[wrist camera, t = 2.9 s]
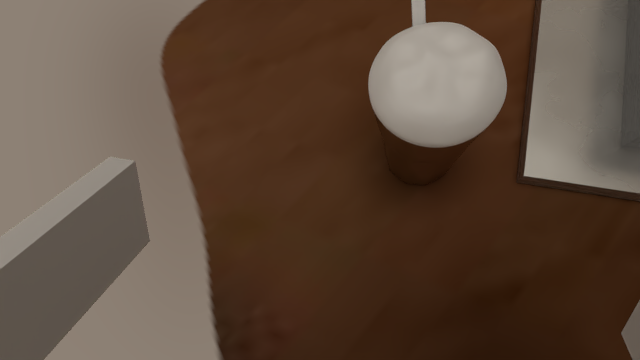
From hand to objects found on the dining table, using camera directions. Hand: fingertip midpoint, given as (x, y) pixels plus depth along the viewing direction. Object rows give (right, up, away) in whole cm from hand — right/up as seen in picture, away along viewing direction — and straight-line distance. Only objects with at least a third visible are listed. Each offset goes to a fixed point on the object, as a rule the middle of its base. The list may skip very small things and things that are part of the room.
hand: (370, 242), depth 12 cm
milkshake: (+4, +3, +12) cm, 13 cm away
